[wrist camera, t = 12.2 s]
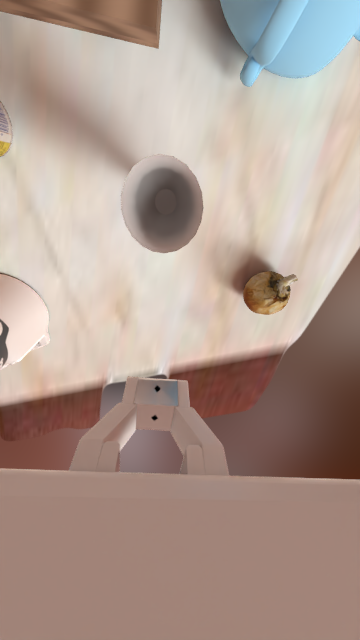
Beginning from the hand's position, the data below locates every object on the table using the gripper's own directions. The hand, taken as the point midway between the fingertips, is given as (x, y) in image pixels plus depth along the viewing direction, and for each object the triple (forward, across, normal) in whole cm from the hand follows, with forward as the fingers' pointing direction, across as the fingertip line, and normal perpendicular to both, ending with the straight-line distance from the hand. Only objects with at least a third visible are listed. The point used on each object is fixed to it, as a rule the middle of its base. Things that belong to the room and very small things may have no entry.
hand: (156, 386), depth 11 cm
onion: (+31, -18, +5) cm, 36 cm away
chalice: (+31, +1, -7) cm, 32 cm away
